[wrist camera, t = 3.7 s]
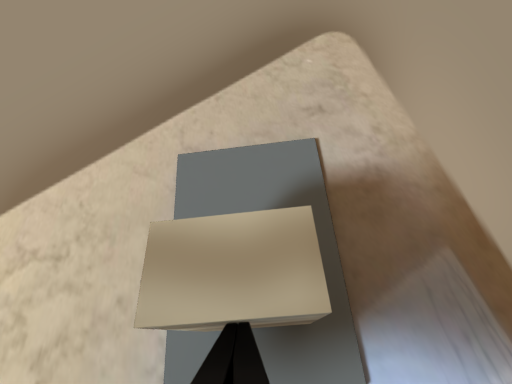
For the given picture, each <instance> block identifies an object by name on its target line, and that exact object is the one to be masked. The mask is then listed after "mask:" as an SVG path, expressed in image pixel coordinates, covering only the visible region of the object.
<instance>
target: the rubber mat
mask: <svg viewBox="0 0 512 384" xmlns="http://www.w3.org/2000/svg"><path fill="white" fill-rule="evenodd" d="M310 205H311V208H312V213H313V219H314V224H315V229H316V234H317V239H318V244H319V249H320V254H321V259H322V264H323V269H324V275H325V280H326V285H327V290H328V295H329V300H330V305H331V310H332V313H330V314H328V315H326V316H324V317H322V318H320V319H318V320H316V321H314V322H313V323H311V324H300V325H287V326H274V327H261V328H252V331H253V334H254V337H255V340H256V343H257V346H258V349H259V352H260V355H261V358H262V361H263V364H264V367H265V370H266V373H267V376H268V379H269V382H270V384H366V381H365V377H364V372H363V367H362V362H361V357H360V353H359V348H358V343H357V338H356V334H355V329H354V324H353V319H352V314H351V310H350V305H349V300H348V295H347V290H346V286H345V281H344V276H343V271H342V266H341V262H340V257H339V252H338V247H337V242H336V238H335V233H334V228H333V223H332V218H331V214H330V209H329V204H328V199H327V194H326V190H325V185H324V180H323V175H322V171H321V166H320V161H319V156H318V151H317V147H316V142H315V138H310V139H302V140H294V141H286V142H278V143H269V144H261V145H253V146H245V147H236V148H228V149H220V150H212V151H204V152H195V153H187V154H179V155H178V161H177V177H176V193H175V210H174V220H177V219H187V218H196V217H206V216H215V215H225V214H234V213H244V212H253V211H263V210H272V209H282V208H291V207H301V206H310ZM221 332H222V331H209V332H202V331H182V330H167V338H166V354H165V371H164V384H190V383H191V381H192V380H193V378H194V376H195V375H196V373H197V371H198V370H199V368H200V366H201V365H202V363H203V362H204V360H205V358H206V357H207V355H208V353H209V352H210V350H211V348H212V347H213V345H214V343H215V342H216V340H217V338H218V337H219V335H220V333H221Z"/></svg>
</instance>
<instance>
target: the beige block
mask: <svg viewBox="0 0 512 384" xmlns="http://www.w3.org/2000/svg"><path fill="white" fill-rule="evenodd" d="M330 313H332V310H331V305H330V300H329V295H328V290H327V285H326V280H325V275H324V269H323V264H322V259H321V254H320V249H319V244H318V239H317V234H316V229H315V224H314V219H313V213H312V208H311V205H310V206H301V207H291V208H282V209H272V210H263V211H253V212H244V213H234V214H225V215H215V216H206V217H196V218H187V219H177V220H168V221H159V222H150V228H149V235H148V241H147V247H146V253H145V259H144V266H143V272H142V278H141V284H140V291H139V297H138V303H137V309H136V315H135V322H134V328H142V329H162V330H182V331H202V332H209V331H222V330H223V328H224V327H225V325H226V324H227V323H239V322H249V323H250V325H251V328H261V327H274V326H287V325H300V324H311V323H313V322H314V321H316V320H318V319H320V318H322V317H324V316H326V315H328V314H330Z"/></svg>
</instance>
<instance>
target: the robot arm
mask: <svg viewBox="0 0 512 384" xmlns="http://www.w3.org/2000/svg"><path fill="white" fill-rule="evenodd" d="M190 384H270V382H269V379H268V376H267V373H266V370H265V367H264V364H263V361H262V358H261V355H260V352H259V349H258V346H257V343H256V340H255V337H254V334H253V331H252V328H251V325H250V323H249V322H239V323H227V324H226V325H225V327H224V328H223V330H222V332H221V333H220V335H219V337H218V338H217V340H216V342H215V343H214V345H213V347H212V348H211V350H210V352H209V353H208V355H207V357H206V358H205V360H204V362H203V363H202V365H201V366H200V368H199V370H198V371H197V373H196V375H195V376H194V378H193V380H192V381H191V383H190Z"/></svg>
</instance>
